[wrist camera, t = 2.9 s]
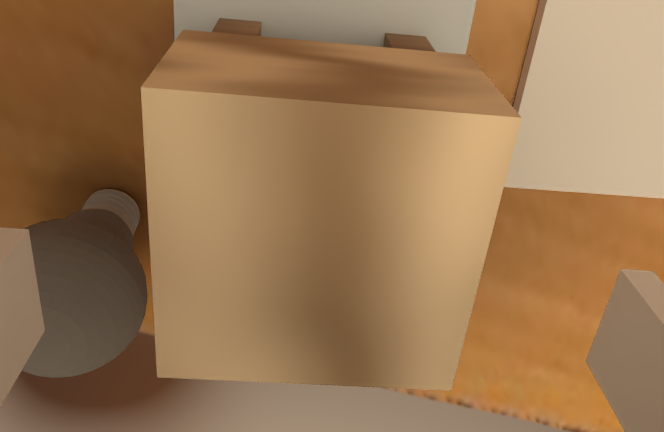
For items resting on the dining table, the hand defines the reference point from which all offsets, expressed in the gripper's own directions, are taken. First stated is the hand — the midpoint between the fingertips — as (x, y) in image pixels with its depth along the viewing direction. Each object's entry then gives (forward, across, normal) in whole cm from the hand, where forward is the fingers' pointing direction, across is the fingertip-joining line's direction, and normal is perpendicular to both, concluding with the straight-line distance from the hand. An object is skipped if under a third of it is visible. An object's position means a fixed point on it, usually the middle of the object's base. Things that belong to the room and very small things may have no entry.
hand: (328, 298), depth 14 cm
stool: (+10, 0, 0) cm, 10 cm away
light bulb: (+15, -9, -7) cm, 19 cm away
